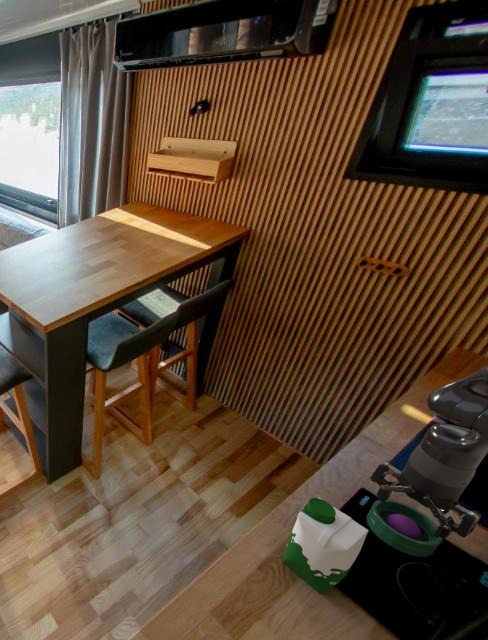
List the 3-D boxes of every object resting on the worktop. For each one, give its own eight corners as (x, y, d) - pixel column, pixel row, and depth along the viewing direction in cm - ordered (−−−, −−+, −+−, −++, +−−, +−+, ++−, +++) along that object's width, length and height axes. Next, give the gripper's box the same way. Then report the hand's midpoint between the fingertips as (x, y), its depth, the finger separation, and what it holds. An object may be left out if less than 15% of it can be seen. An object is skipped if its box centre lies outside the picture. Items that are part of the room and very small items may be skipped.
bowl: (381, 506, 89) (389, 492, 87) (443, 547, 80) (454, 533, 78) (354, 523, 87) (361, 509, 85) (415, 567, 78) (425, 553, 76)
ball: (391, 518, 86) (398, 505, 84) (421, 538, 82) (430, 526, 79) (377, 527, 85) (384, 514, 83) (407, 548, 81) (415, 535, 78)
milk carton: (297, 540, 86) (320, 487, 77) (348, 580, 78) (379, 525, 70) (274, 559, 83) (295, 507, 75) (324, 602, 75) (354, 549, 67)
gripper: (507, 492, 68) (469, 540, 75) (401, 437, 81) (376, 483, 88) (483, 508, 67) (446, 556, 74) (379, 449, 79) (356, 495, 86)
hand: (408, 516), depth 81 cm, fingers open, 8 cm apart
